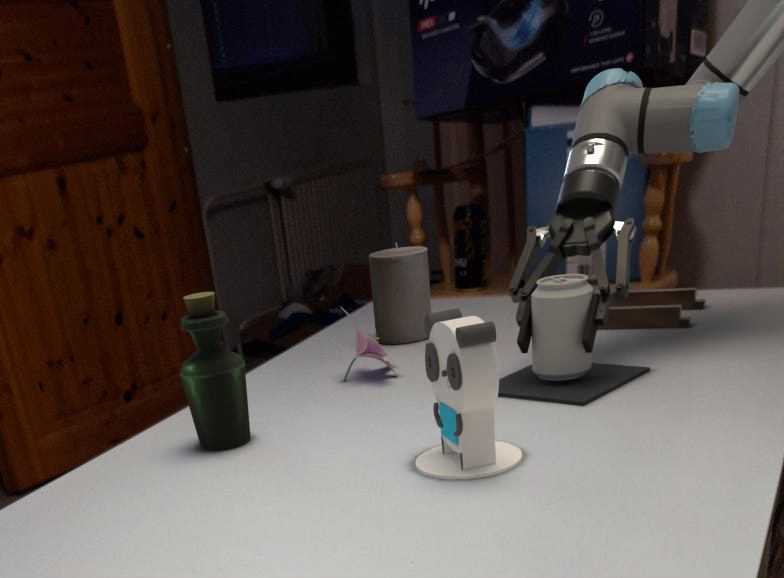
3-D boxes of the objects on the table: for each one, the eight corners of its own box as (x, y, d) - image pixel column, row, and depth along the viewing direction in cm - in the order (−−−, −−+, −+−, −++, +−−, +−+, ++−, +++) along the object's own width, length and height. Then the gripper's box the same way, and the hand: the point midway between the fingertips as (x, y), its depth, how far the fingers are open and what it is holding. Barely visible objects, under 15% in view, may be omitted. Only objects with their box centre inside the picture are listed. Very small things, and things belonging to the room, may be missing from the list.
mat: (650, 371, 121) (650, 367, 120) (583, 406, 112) (583, 402, 111) (543, 362, 131) (543, 358, 131) (475, 394, 122) (474, 390, 122)
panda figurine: (400, 454, 105) (388, 317, 98) (495, 435, 107) (490, 299, 99) (435, 487, 95) (425, 337, 88) (539, 465, 96) (537, 316, 89)
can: (556, 385, 117) (556, 285, 111) (520, 375, 123) (518, 280, 117) (604, 372, 119) (606, 273, 113) (567, 363, 125) (567, 269, 119)
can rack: (705, 306, 147) (706, 287, 146) (688, 327, 137) (690, 306, 136) (573, 311, 157) (573, 292, 156) (549, 330, 147) (549, 310, 146)
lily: (383, 397, 131) (408, 329, 128) (307, 368, 132) (330, 300, 129) (395, 399, 142) (419, 337, 139) (325, 372, 144) (347, 311, 141)
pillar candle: (364, 344, 157) (355, 249, 150) (398, 330, 163) (390, 238, 156) (412, 345, 151) (404, 247, 144) (445, 331, 157) (439, 236, 150)
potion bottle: (250, 428, 122) (226, 285, 114) (263, 444, 115) (238, 293, 107) (190, 440, 121) (161, 297, 112) (199, 458, 114) (168, 306, 105)
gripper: (507, 175, 122) (468, 332, 118) (670, 158, 112) (633, 329, 108) (521, 213, 128) (484, 363, 124) (676, 200, 118) (642, 362, 115)
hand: (553, 347), depth 116 cm, fingers closed on can, 7 cm apart
